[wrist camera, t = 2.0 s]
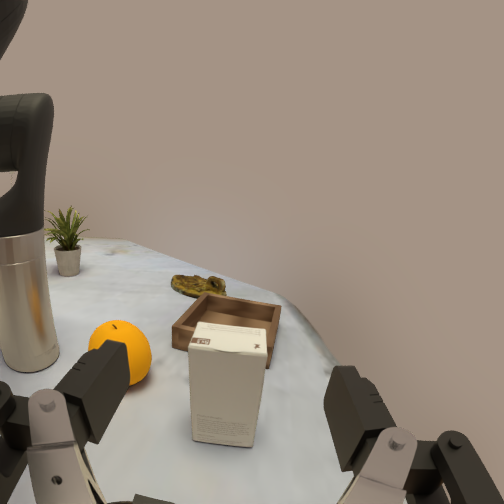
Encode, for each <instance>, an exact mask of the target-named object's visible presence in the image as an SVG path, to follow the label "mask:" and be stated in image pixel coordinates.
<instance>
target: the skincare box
mask: <svg viewBox="0 0 504 504" xmlns="http://www.w3.org/2000/svg"><path fill="white" fill-rule="evenodd" d="M188 357H189V384H190V405H191V422H192V438H193V440H195V441H201V442H208V443H215V444H223V445H232V446H243V447H253V442H254V436H255V431H256V425H257V419H258V413H259V408H260V402H261V396H262V389H263V383H264V374H265V367H266V362H267V357H268V355H267V343H266V330H265V329H258V328H248V327H238V326H229V325H220V324H212V323H205V322H198V323H197V326H196V328H195V331H194V334H193V336H192V338H191V341H190V343H189V346H188Z"/></svg>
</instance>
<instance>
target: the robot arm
mask: <svg viewBox="0 0 504 504" xmlns="http://www.w3.org/2000/svg"><path fill="white" fill-rule="evenodd" d="M27 3H28V0H0V59H1V58H2V56H3V54H4V53H5V51H6V49H7V48H8V46H9V44H10V42H11V41H12V39H13V37H14V35H15V33H16V31H17V29H18V27H19V25H20V23H21V21H22V19H23V17H24V14H25V11H26V8H27ZM53 118H54V106H53V101H52V99H51V97H50V96H49V95H48V94H45V93H31V94H17V95H7V96H0V172H10V171H18V175H17V180H16V182H15V184H14V186H13V187H12V188H11V189H10V190H9V191H8V192H7V193H6V194H5V195H3V196H2V197H1V198H0V348H1V351H2V354H3V357H4V359H5V362H6V364H7V365H8V366H9V367H11V368H12V369H14V370H16V371H20V372H35V371H39V370H42V369H44V368H47V367H48V366H50V365H51V364H52V363H53V362H55V361H56V359H57V358H58V355H59V345H58V341H57V336H56V331H55V326H54V320H53V315H52V309H51V302H50V295H49V288H48V279H47V270H46V258H45V244H44V188H45V174H46V165H47V158H48V152H49V145H50V140H51V133H52V127H53ZM129 384H130V368H129V361H128V353H127V346H126V344H125V343H122V342H118V341H113V340H109V339H107V340H105V342H104V343H103V344H102V345H101V346H100V347H99V349H92V350H90V351H88V352H86V353H85V354H83V355H82V357H81V358H80V359H79V360H78V361H77V363H75V365H74V366H73V367H72V369H70V370H69V372H68V373H67V374H66V375H65V376H64V377H63V379H62V380H61V381H60V382H59V383H58V384H57V386H56V387H55V388H54V389H53V390H52V389H43V390H39V391H37V392H35V393H34V394H33V395H32V396H31V397H30V398H28V397H22V396H16V395H13V394H12V391H11V389H10V387H9V385H8V384H6V383H5V382H2V381H0V435H1V436H0V504H7V502H8V500H9V498H10V496H11V494H12V492H13V490H14V488H15V486H16V485H17V483H18V481H19V479H20V477H21V475H22V473H23V471H24V470H25V468H26V466H27V464H28V465H29V471H30V477H31V482H32V487H33V491H34V496H35V500H36V504H174V503H172V502H167V501H163V500H158V499H154V498H150V497H146V496H142V495H138V494H135V496H134V499H133V502H132V501H120V502H112V503H107V502H106V500H105V498H104V496H103V494H102V492H101V490H100V488H99V486H98V483H97V481H96V478H95V475H94V473H93V470H92V467H91V464H90V462H89V459H88V456H87V453H86V450H85V448H84V447H85V445H86V443H87V441H89V442H92V443H95V444H99V442H100V440H101V438H102V436H103V434H104V432H105V430H106V428H107V427H108V425H109V423H110V421H111V419H112V417H113V415H114V413H115V412H116V410H117V408H118V406H119V404H120V402H121V400H122V399H123V397H124V395H125V393H126V391H127V390H128V387H129ZM324 411H325V414H326V418H327V421H328V425H329V428H330V432H331V435H332V439H333V442H334V446H335V449H336V453H337V456H338V460H339V464H340V467H341V471H342V472H346V471H353V474H354V477H353V478H352V480H351V482H350V483H349V485H348V486H347V488H346V490H345V491H344V493H343V494H342V496H341V497H340V499H339V501H338V502H337V504H403V501H404V499H405V497H406V500H407V503H408V504H450V503H449V500H448V498H447V496H446V493H445V491H444V489H443V486H442V484H443V483H444V484H445V486H446V488H447V490H448V493H449V495H450V498H451V504H504V501H503V499H502V497H501V495H500V493H499V491H498V489H497V488H496V486H495V484H494V482H493V480H492V478H491V477H490V475H489V473H488V471H487V470H486V468H485V466H484V464H483V463H482V461H481V459H480V458H479V456H478V454H477V453H476V451H475V449H474V448H473V446H472V444H471V443H470V441H469V440H468V438H467V437H466V436H465V435H464V434H462V433H460V432H457V431H446V432H444V433H442V434H441V435H440V436H439V438H438V439H437V441H419V440H416V438H415V436H414V435H413V434H412V433H411V432H410V431H408V430H406V429H404V428H400V427H397V426H396V424H395V422H394V420H393V418H392V416H391V415H390V413H389V411H388V409H387V407H386V405H385V403H383V400H382V398H381V396H379V393H378V391H377V389H376V387H375V385H374V384H373V383H371V382H370V381H369V380H368V379H367V378H361V377H360V375H359V373H358V371H357V370H356V368H355V366H335V367H334V368H333V371H332V374H331V377H330V380H329V383H328V387H327V390H326V393H325V396H324Z"/></svg>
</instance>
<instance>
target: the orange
mask: <svg viewBox="0 0 504 504" xmlns="http://www.w3.org/2000/svg"><path fill="white" fill-rule="evenodd" d="M107 339H109V340H113V341H118V342H122V343H125V344H126V346H127V353H128V361H129V368H130V384H129V385H133V384H135V383H137V382H139V381H141V380H142V379H143V378H144V377H145V376H146V374H147V373H148V371H149V369H150V365H151V360H152V355H151V350H150V345H149V342H148V340H147V338H146V337H145V335H144V334H143V333H142V332H141V331H140V330H139V329H138V328H137V327H136V326H134V325H132V324H131V323H129V322H126V321H121V320H113V321H109V322H106V323H103V324H102V325H100V326H99V327H98V328H96V330H95V331H94V332H93V334H92V336H91V338H90V341H89V347H88V351H90V350H92V349H99V347H100V346H101V345H102V344H103V343H104V342H105V340H107Z"/></svg>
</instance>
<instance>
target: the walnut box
mask: <svg viewBox="0 0 504 504" xmlns="http://www.w3.org/2000/svg"><path fill="white" fill-rule="evenodd" d="M280 313H281V306H280V305H274V304H268V303H262V302H256V301H250V300H244V299H239V298H233V297H228V296H222V295H217V294H212V293H207V292H204V293H203V294H202V295H201V296H200V297H199V298H198V299H197V300H196V301H195V302H194V303H193V304H192V305H191V306H190V308H189V309H188V310H187V311H186V312H185V313H184V314H183V315H182V316H181V317H180V318H179V319H178V320H177V321H176V322H175V323H174V325H173V326H172V348H176V349H180V350H183V351H187V352H188V346H189V343H190V341H191V338H192V336H193V334H194V331H195V328H196V326H197V323H198V322H205V323H212V324H220V325H229V326H238V327H248V328H258V329H265V330H266V343H267V355H268V357H267V362H266V367H265V368H266V369H269V366H270V361H271V357H272V352H273V348H274V343H275V338H276V334H277V329H278V324H279V318H280Z"/></svg>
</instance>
